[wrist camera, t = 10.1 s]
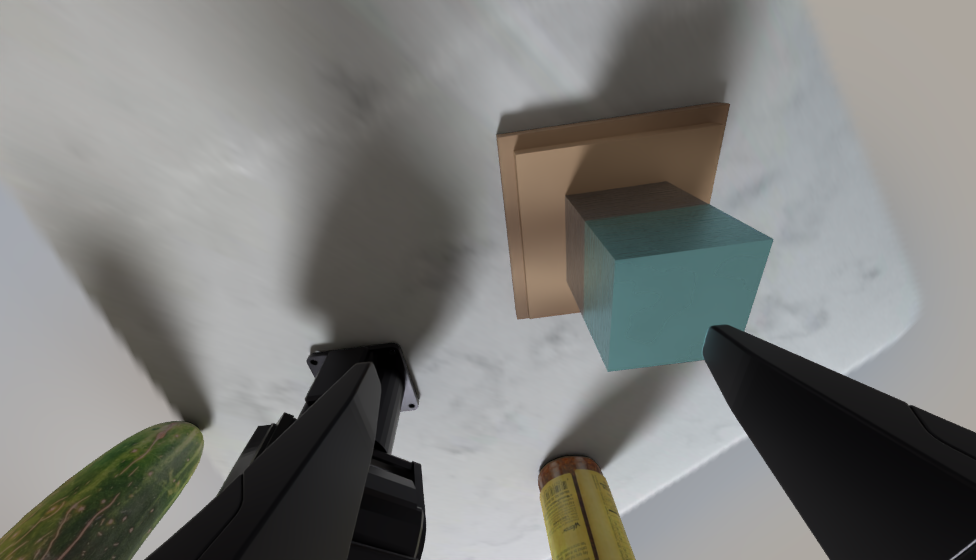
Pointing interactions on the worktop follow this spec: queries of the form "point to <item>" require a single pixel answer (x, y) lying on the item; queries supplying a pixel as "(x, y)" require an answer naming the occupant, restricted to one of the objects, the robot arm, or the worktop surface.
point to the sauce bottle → (581, 512)
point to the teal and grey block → (658, 271)
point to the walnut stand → (593, 184)
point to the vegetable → (110, 499)
